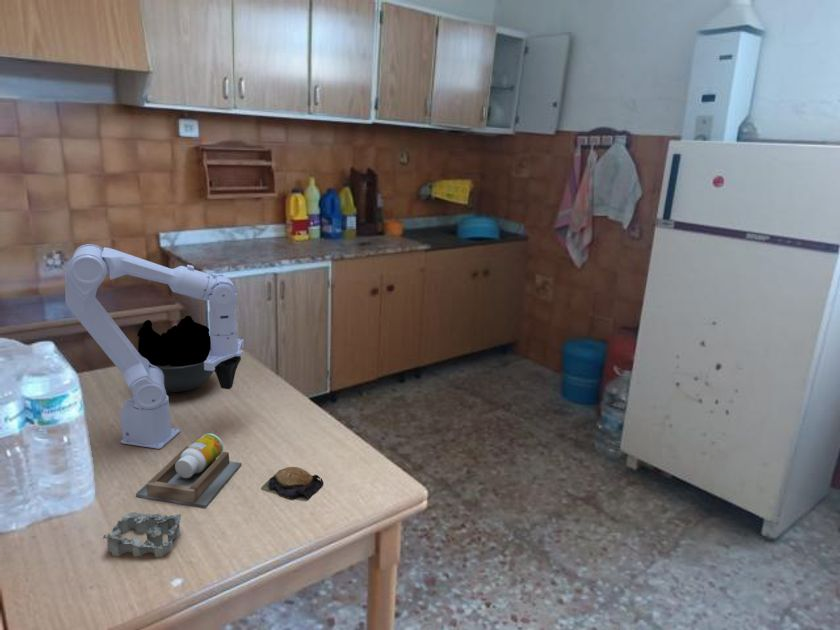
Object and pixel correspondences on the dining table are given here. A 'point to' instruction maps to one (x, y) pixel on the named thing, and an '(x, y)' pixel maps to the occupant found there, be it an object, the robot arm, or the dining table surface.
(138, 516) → the egg carton
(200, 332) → the bowl of black rocks
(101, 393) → the dining table surface
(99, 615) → the dining table surface
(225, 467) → the cradle
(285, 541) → the dining table surface
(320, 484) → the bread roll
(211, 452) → the supplement bottle
